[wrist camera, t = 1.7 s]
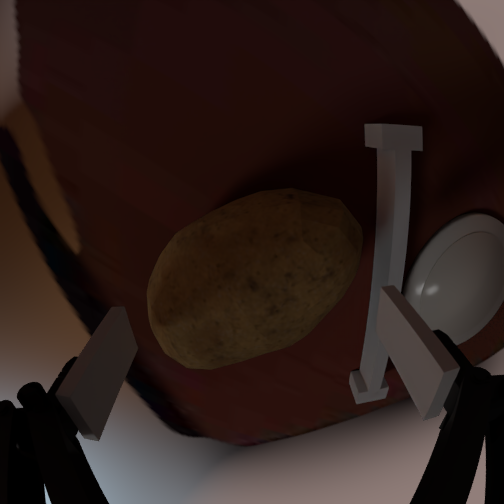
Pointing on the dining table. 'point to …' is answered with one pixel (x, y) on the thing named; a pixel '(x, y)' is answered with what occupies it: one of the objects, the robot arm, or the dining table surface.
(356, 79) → the dining table surface
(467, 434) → the robot arm
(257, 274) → the potato
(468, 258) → the plate
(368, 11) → the dining table surface
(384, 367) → the rail
